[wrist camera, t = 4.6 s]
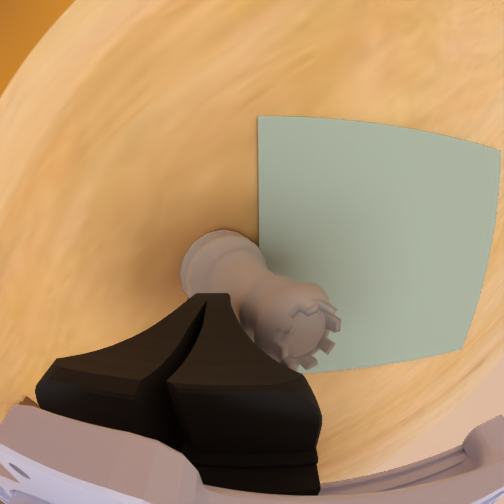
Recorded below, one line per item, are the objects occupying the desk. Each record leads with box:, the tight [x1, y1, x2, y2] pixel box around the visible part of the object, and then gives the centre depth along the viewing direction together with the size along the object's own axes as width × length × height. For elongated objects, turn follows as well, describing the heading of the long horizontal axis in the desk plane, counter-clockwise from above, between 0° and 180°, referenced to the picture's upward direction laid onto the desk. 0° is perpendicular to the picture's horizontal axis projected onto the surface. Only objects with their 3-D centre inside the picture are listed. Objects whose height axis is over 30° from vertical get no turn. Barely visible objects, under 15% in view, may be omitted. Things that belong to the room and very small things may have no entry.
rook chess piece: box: [180, 229, 341, 371], centre depth 12 cm, size 4×4×8 cm
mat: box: [258, 116, 501, 374], centre depth 17 cm, size 16×17×1 cm
